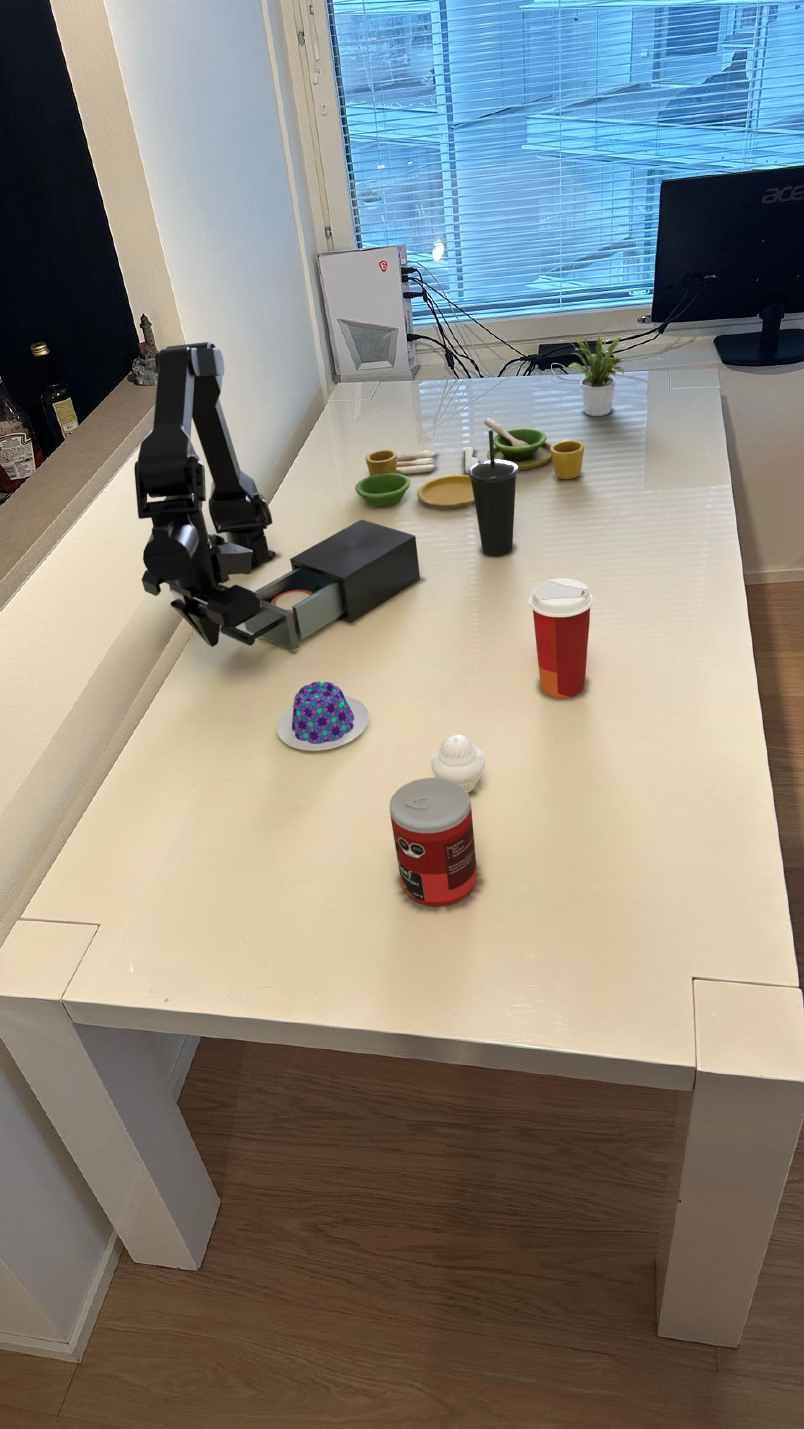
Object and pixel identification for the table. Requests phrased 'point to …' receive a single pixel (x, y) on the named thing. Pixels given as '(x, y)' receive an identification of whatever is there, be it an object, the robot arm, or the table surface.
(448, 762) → the muffin
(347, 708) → the pudding
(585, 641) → the paper cup
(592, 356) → the house plant
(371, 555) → the cabinet
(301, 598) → the round tin
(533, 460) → the tableware set
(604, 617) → the table surface
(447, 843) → the canned food
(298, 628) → the drawer
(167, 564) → the robot arm
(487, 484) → the drinking cup
